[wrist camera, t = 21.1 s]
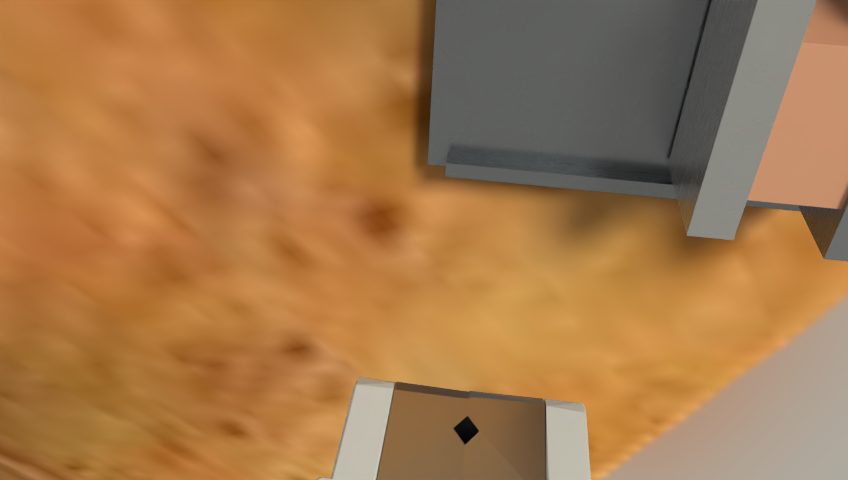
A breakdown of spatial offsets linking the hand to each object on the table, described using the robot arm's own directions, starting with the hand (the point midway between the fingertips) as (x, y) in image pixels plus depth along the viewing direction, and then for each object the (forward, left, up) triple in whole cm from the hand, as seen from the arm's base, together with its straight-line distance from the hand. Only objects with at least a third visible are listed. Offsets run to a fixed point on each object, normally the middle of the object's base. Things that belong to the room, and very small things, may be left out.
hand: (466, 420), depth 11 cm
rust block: (+13, -6, -28) cm, 31 cm away
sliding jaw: (+10, -6, -28) cm, 30 cm away
